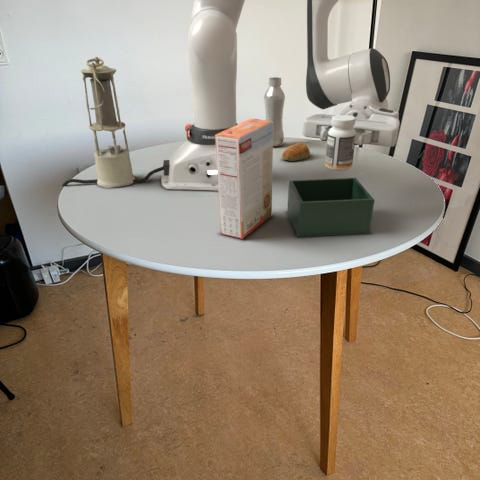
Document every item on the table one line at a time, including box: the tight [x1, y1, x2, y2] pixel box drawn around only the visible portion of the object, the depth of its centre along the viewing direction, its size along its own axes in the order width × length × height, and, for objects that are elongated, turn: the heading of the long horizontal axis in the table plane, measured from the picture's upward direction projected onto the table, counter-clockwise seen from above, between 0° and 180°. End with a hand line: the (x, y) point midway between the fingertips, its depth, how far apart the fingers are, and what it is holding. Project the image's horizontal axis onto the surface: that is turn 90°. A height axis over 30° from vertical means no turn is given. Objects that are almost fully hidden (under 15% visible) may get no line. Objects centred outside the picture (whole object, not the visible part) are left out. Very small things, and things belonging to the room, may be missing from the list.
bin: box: [286, 177, 375, 238], centre depth 101 cm, size 15×13×8 cm
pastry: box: [281, 142, 311, 162], centre depth 140 cm, size 9×7×4 cm
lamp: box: [80, 56, 136, 189], centre depth 116 cm, size 10×13×30 cm
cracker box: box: [215, 118, 274, 240], centre depth 96 cm, size 14×6×21 cm, turn 150°
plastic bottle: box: [263, 76, 286, 147], centre depth 146 cm, size 6×7×20 cm
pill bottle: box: [324, 114, 356, 172], centre depth 94 cm, size 6×6×10 cm
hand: (340, 139), depth 93 cm, fingers closed on pill bottle, 5 cm apart
